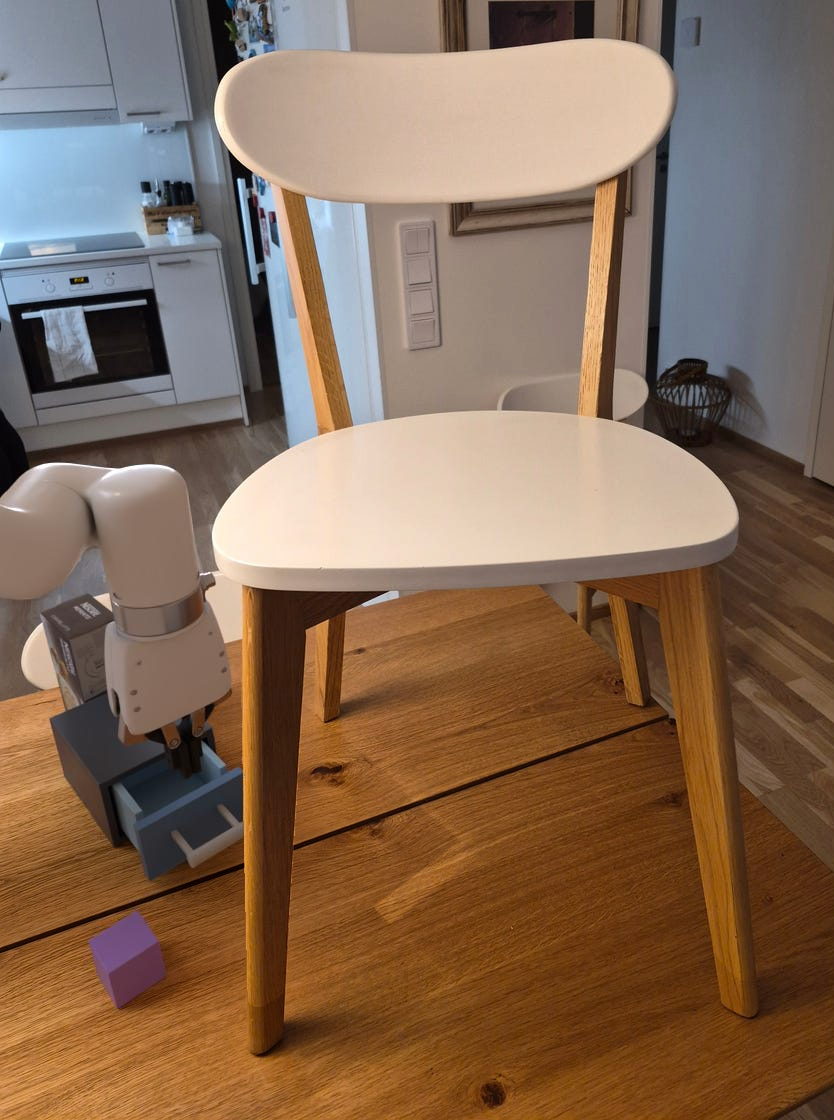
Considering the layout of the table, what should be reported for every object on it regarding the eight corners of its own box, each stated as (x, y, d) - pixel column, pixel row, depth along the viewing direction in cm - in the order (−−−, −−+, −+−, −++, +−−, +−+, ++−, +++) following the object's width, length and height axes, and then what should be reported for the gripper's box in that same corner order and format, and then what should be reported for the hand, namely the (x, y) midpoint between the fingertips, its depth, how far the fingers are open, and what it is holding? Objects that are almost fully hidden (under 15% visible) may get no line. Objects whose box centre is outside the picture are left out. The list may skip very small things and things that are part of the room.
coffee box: (145, 725, 108) (122, 617, 102) (95, 751, 104) (69, 640, 98) (112, 695, 114) (88, 591, 108) (63, 718, 110) (36, 611, 103)
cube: (117, 1009, 74) (107, 974, 72) (97, 975, 77) (87, 940, 75) (167, 976, 77) (159, 941, 75) (145, 944, 80) (137, 909, 78)
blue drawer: (277, 848, 89) (269, 798, 86) (173, 914, 82) (161, 861, 79) (194, 759, 101) (185, 712, 98) (97, 809, 94) (85, 761, 91)
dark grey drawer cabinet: (222, 787, 98) (212, 727, 95) (114, 847, 90) (98, 784, 87) (167, 727, 108) (155, 671, 104) (64, 777, 100) (48, 718, 97)
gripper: (216, 561, 82) (237, 715, 89) (54, 619, 72) (93, 786, 80) (256, 590, 77) (275, 750, 84) (89, 656, 67) (126, 831, 75)
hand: (186, 767), depth 82 cm, fingers closed
